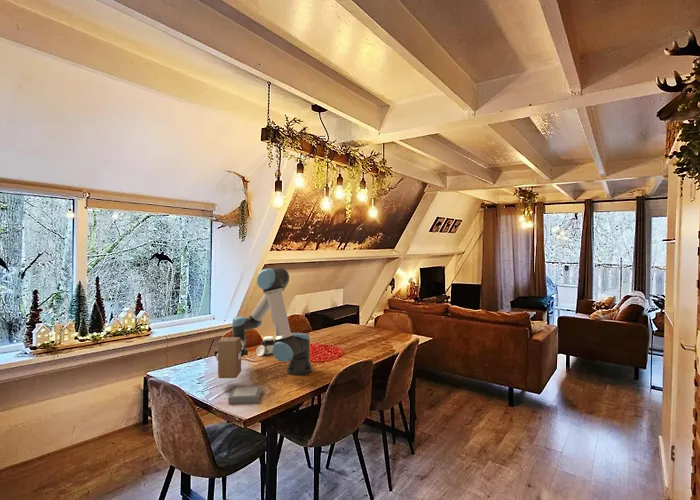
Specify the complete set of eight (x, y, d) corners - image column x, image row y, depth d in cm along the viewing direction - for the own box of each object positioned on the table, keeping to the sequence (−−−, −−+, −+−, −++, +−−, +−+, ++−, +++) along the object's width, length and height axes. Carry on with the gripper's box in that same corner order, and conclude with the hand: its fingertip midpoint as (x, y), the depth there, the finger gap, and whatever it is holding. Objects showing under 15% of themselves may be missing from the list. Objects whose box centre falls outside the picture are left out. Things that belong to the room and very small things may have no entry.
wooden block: (241, 372, 211) (241, 336, 211) (236, 378, 201) (236, 341, 201) (223, 372, 211) (223, 336, 211) (217, 378, 201) (217, 341, 201)
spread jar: (276, 352, 269) (277, 336, 269) (271, 357, 258) (272, 340, 258) (260, 351, 271) (260, 335, 270) (254, 356, 259) (255, 339, 259)
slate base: (261, 391, 198) (261, 385, 198) (257, 402, 184) (258, 396, 184) (234, 392, 197) (234, 386, 197) (228, 403, 183) (228, 397, 183)
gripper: (256, 352, 225) (250, 363, 203) (215, 353, 223) (205, 365, 201) (255, 339, 225) (250, 349, 203) (215, 341, 223) (205, 351, 201)
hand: (228, 357), depth 202 cm, fingers closed on wooden block, 11 cm apart
